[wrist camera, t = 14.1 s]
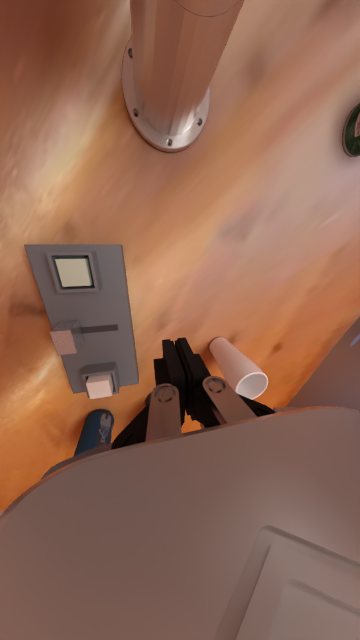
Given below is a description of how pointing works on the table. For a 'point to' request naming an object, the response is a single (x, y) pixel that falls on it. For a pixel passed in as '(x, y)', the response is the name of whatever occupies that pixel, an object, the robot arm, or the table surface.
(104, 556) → the robot arm
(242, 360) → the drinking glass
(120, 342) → the panel
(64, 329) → the block
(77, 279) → the button sage
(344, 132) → the canned tomato
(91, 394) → the button cream
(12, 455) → the table surface
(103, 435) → the soda can
